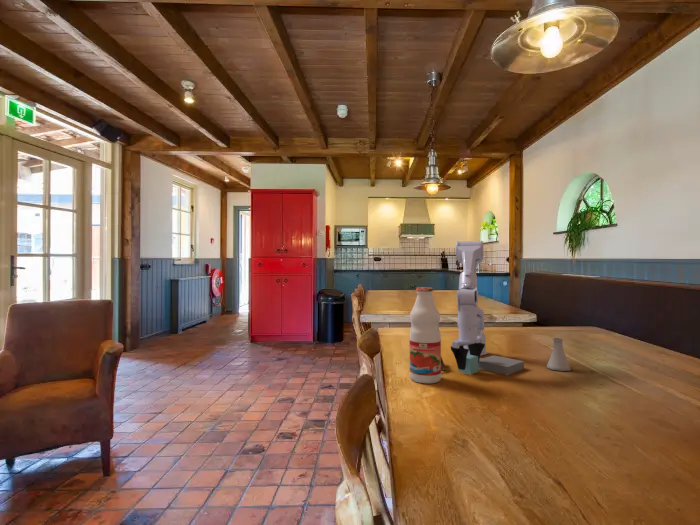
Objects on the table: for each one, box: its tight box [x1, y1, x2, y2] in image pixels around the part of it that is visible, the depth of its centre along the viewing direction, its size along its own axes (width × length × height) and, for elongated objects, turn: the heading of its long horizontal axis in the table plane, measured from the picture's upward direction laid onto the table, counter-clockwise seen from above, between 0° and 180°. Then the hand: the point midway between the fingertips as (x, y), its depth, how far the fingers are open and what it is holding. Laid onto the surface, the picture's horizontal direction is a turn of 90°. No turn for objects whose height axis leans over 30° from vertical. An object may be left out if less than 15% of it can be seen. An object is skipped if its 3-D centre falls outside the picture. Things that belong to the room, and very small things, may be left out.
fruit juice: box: [408, 286, 442, 384], centre depth 114 cm, size 9×9×28 cm
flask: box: [546, 337, 571, 372], centre depth 124 cm, size 7×7×10 cm
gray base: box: [478, 354, 525, 376], centre depth 125 cm, size 11×11×3 cm
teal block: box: [457, 354, 479, 375], centre depth 121 cm, size 4×4×5 cm
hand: (468, 367), depth 121 cm, fingers open, 7 cm apart
